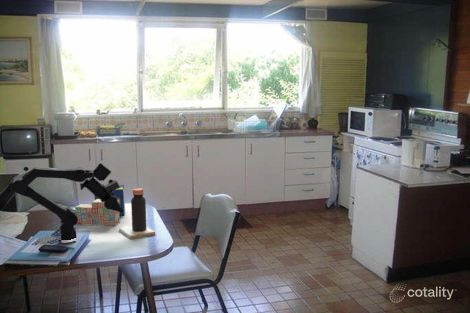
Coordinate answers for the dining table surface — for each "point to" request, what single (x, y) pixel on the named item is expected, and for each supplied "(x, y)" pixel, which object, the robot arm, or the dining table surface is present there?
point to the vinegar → (138, 210)
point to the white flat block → (135, 235)
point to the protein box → (119, 198)
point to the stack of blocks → (96, 214)
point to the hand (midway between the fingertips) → (121, 209)
